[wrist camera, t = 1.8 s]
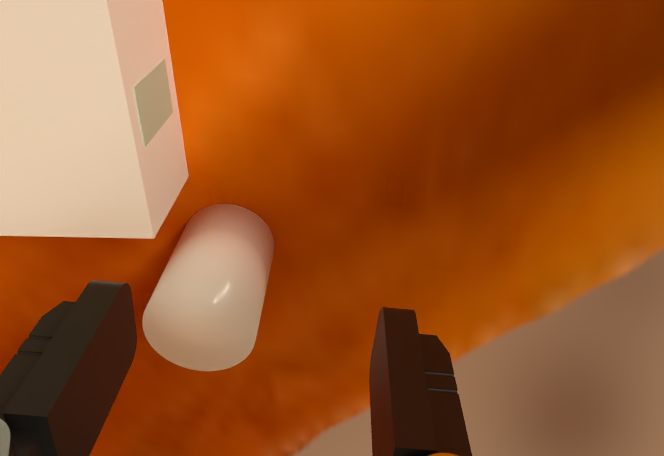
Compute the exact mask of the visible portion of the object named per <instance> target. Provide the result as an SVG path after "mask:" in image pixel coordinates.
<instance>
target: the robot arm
mask: <svg viewBox="0 0 664 456" xmlns="http://www.w3.org/2000/svg"><path fill="white" fill-rule="evenodd" d="M136 342H137V334H136V326H135V318H134V310H133V302H132V295H131V289H130V286H129V284H127V283H119V282H108V281H97V280H92V281H91V282H89V284H88V285H87V286H86V288H85V289H84V291H83V292H82V294H81V295H80V297H79V298H78V300H77V301H76V302H66V301H63V302H62V303H60V304H59V305H58V306H56V307H55V308H53V309H52V310H51V311H49V312H48V313H46V314H45V315H44V316H42V318H41V319H40V320H39V322H38V323H37V325H36V326H35V327H34V329H33V330H32V332H31V333H30V334H29V338H28V339H26V340H25V341H24V343H23V344H22V345H21V347H20V348H19V350H18V354H17V355H16V354H15V355H14V357H13V358H12V359H11V361H10V362H9V364H8V365H7V366H6V368H5V369H4V370H3V372H2V373H1V375H0V456H89V455H90V453H91V451H92V449H93V446H94V444H95V442H96V440H97V438H98V435H99V433H100V431H101V429H102V427H103V425H104V422H105V420H106V418H107V416H108V414H109V411H110V409H111V407H112V405H113V403H114V401H115V398H116V396H117V394H118V392H119V390H120V387H121V385H122V383H123V381H124V379H125V377H126V374H127V372H128V370H129V368H130V366H131V363H132V361H133V358H134V354H135V350H136ZM369 384H370V407H371V426H372V427H371V428H372V452H373V456H472V453H471V449H470V444H469V440H468V435H467V431H466V426H465V421H464V417H463V412H462V408H461V403H460V399H459V394H457V385H456V381H455V377H454V372H453V367H452V362H451V358H450V354H449V352H448V351H447V349H446V348H445V347H444V345H443V344H442V343H441V341H440V340H439V338H438V337H437V336H436V335H425V334H419V332H418V326H417V320H416V314H415V311H414V310H407V309H396V308H385V307H382V308H381V309H380V313H379V318H378V323H377V329H376V334H375V339H374V345H373V350H372V355H371V363H370V378H369Z"/></svg>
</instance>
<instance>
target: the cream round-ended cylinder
mask: <svg viewBox="0 0 664 456" xmlns="http://www.w3.org/2000/svg"><path fill="white" fill-rule="evenodd" d="M273 254H274V238H273V235H272V232H271V230H270V228H269V227H268V225H267V224H266V223H265V222H264V221H263V219H262V218H260V217H259V216H258V215H257V214H255V213H254V212H252V211H250V210H248V209H246V208H244V207H241V206H238V205H233V204H215V205H210V206H207V207H205V208H202V209H200V210H199V211H197V212H196V213H195V214H194V215H193V216H192V217H191V218H190V219H189V221H188V222H187V224H186V226H185V228H184V230H183V232H182V234H181V236H180V239H179V241H178V243H177V245H176V247H175V249H174V251H173V253H172V255H171V257H170V259H169V261H168V263H167V265H166V267H165V269H164V272H163V274H162V276H161V278H160V280H159V282H158V284H157V286H156V288H155V290H154V292H153V294H152V296H151V298H150V300H149V302H148V304H147V307H146V309H145V311H144V314H143V319H142V327H143V331H144V334H145V337H146V339H147V340H148V342H149V344H150V345H151V346H152V348H153V349H154V350H155V351H156V352H157V353H159V354H160V355H161V356H162V357H164V358H165V359H167V360H168V361H170V362H172V363H174V364H176V365H179V366H181V367H184V368H187V369H192V370H198V371H218V370H223V369H227V368H230V367H233V366H235V365H237V364H239V363H240V362H242V361H243V360H244V359H245V358H246V357H247V356H248V355H249V354H250V353H251V351H252V349H253V347H254V345H255V341H256V337H257V332H258V327H259V322H260V317H261V312H262V307H263V303H264V298H265V293H266V288H267V283H268V278H269V273H270V269H271V264H272V259H273Z"/></svg>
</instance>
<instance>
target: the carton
mask: <svg viewBox="0 0 664 456" xmlns="http://www.w3.org/2000/svg"><path fill="white" fill-rule="evenodd" d="M187 179H188V170H187V163H186V157H185V150H184V143H183V137H182V130H181V123H180V116H179V110H178V103H177V96H176V90H175V83H174V76H173V69H172V63H171V56H170V49H169V43H168V36H167V29H166V22H165V16H164V9H163V2H162V0H0V236H44V237H97V238H150V239H154V238H155V236H156V234H157V232H158V231H159V229H160V227H161V225H162V223H163V222H164V220H165V218H166V216H167V214H168V213H169V211H170V209H171V207H172V205H173V204H174V202H175V200H176V198H177V196H178V195H179V193H180V191H181V189H182V187H183V186H184V184H185V182H186V180H187Z"/></svg>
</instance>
